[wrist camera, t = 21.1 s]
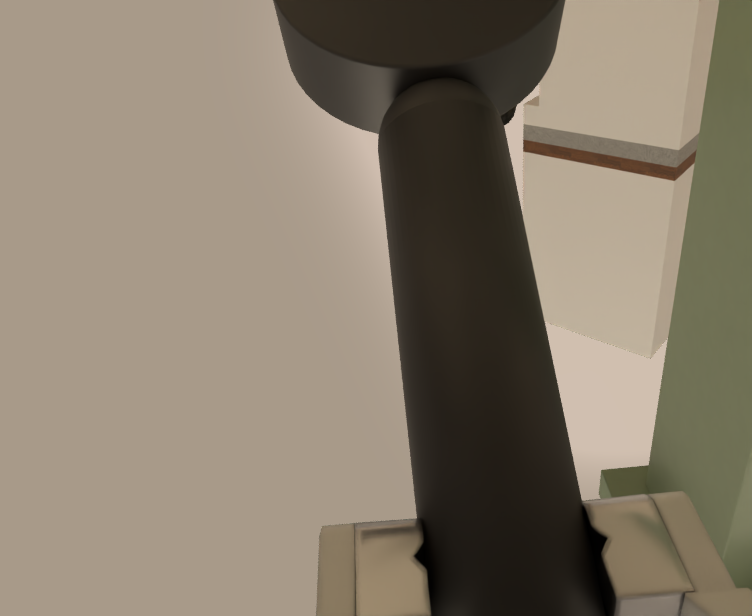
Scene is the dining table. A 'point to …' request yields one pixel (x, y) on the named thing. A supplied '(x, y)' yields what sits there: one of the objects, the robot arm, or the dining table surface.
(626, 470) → the stand
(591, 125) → the white channel column
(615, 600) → the robot arm
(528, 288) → the dark grey paddle
